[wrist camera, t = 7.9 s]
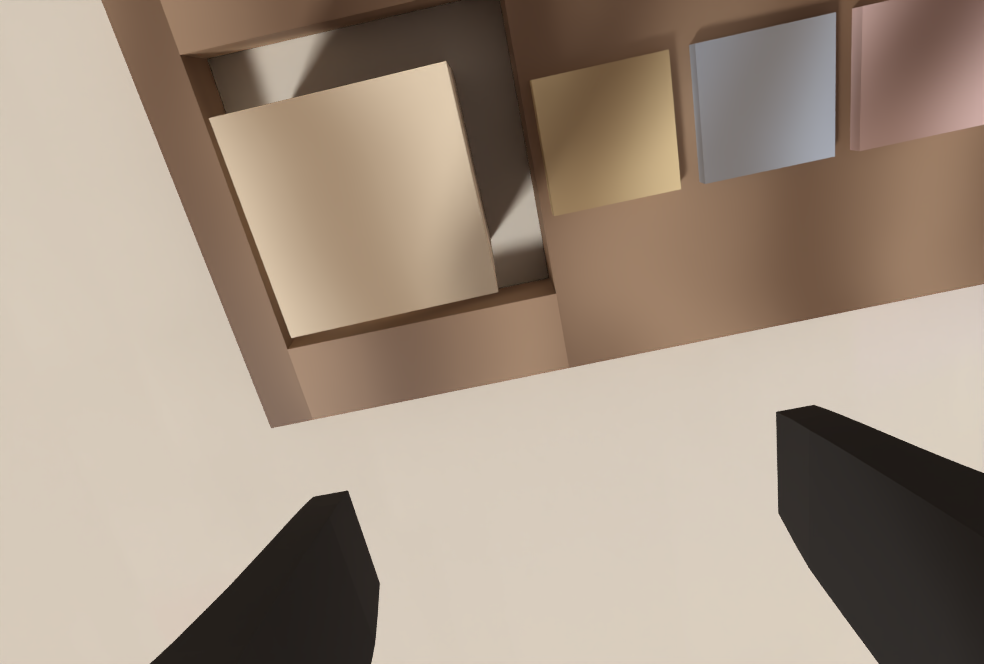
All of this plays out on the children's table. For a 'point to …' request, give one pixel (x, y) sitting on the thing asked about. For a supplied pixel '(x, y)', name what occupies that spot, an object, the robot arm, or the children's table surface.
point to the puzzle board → (624, 179)
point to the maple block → (362, 199)
